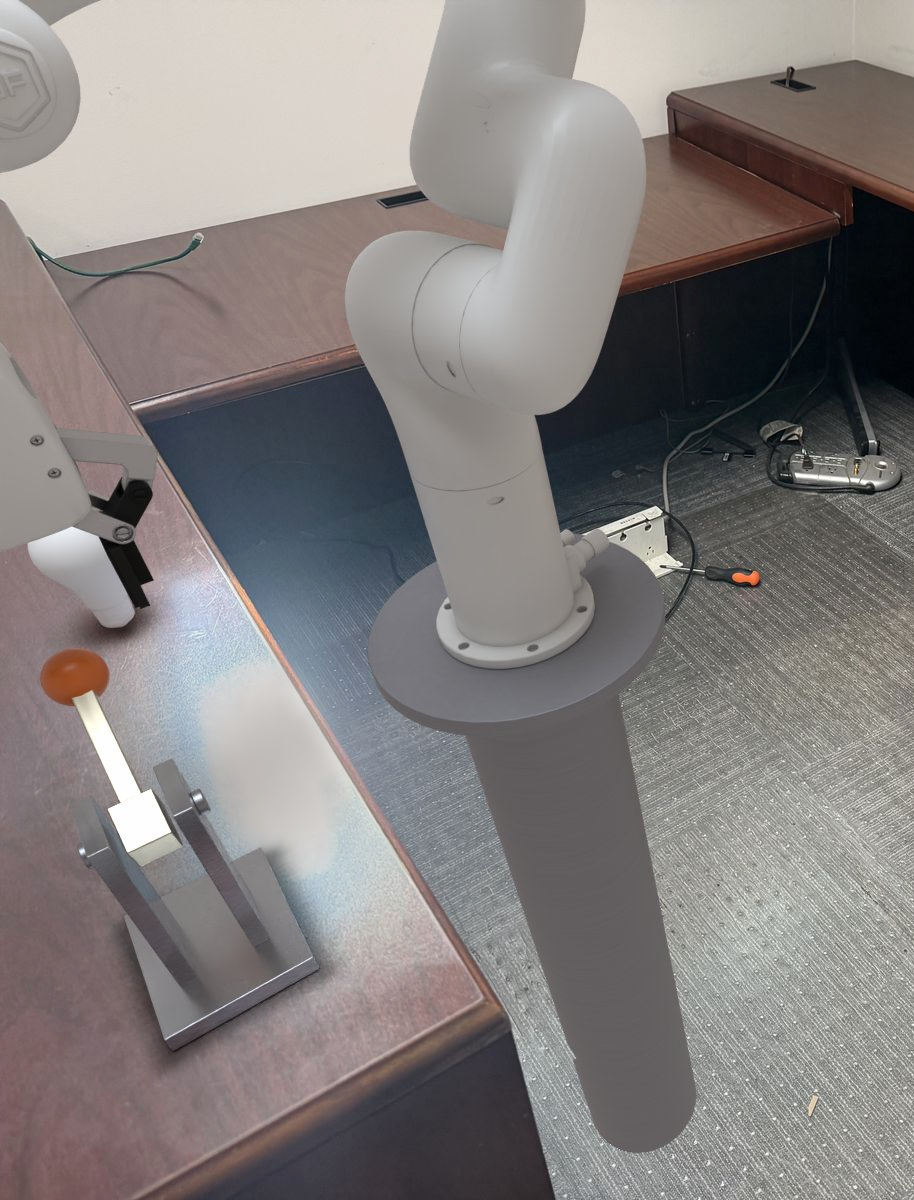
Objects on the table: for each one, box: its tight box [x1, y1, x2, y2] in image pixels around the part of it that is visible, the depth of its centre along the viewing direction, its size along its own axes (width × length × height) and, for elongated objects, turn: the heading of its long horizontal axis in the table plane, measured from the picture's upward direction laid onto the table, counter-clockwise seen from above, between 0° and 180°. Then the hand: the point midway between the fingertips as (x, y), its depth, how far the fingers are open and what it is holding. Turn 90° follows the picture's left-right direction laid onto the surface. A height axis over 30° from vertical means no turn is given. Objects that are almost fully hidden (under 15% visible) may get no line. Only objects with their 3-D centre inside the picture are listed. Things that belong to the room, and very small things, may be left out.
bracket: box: [69, 758, 320, 1052], centre depth 60 cm, size 10×8×13 cm
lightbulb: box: [27, 527, 136, 629], centre depth 84 cm, size 6×6×11 cm
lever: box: [39, 647, 184, 868], centre depth 59 cm, size 13×3×3 cm, turn 39°
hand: (40, 632), depth 58 cm, fingers open, 9 cm apart
